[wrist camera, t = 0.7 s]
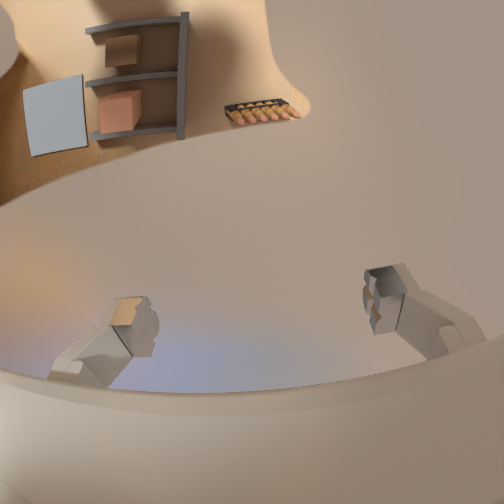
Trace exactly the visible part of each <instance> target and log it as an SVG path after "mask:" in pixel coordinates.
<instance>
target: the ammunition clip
mask: <svg viewBox="0 0 504 504" xmlns="http://www.w3.org/2000/svg"><path fill="white" fill-rule="evenodd" d="M287 104H288V105H287ZM225 111H226V115H227V116H228V117H229V118H230V119H231V120H232V121H234V122H235V123H237V124H238V125H240V126H244V125H245V121H244V120H246V121H248V122H249V123H251V124H256V119H257V120H260V121H261V122H264V123H266V122H267V121H268V119H267V118H269V119H271V120H273V121H278V120H279V117H281V118H283V119H286V120H289V119H290V116H292V117H294V118H297V119H299V118H301V115H300V114H299V113H298V112H297V111H296V110H295V109H294V108H293V107H291V106H289V103H287V102H286V101H284V100H282V99H272V100H263V101H255V102H248V103H241V104H235V105H228V106H225Z"/></svg>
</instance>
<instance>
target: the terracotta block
mask: <svg viewBox="0 0 504 504" xmlns="http://www.w3.org/2000/svg"><path fill="white" fill-rule="evenodd" d="M98 108H99V121H100V132H101V134H104V133H112V132H120V131H128V130H133V129H134V127H135V125H136V124H137V122H138V120H139V119H140V117H141V116H142V106H141V89H136V90H128V91H120V92H114V93H112V94H110V95H109V96H107V97H105V98H104V99H102V100H101V101H99V102H98Z"/></svg>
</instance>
